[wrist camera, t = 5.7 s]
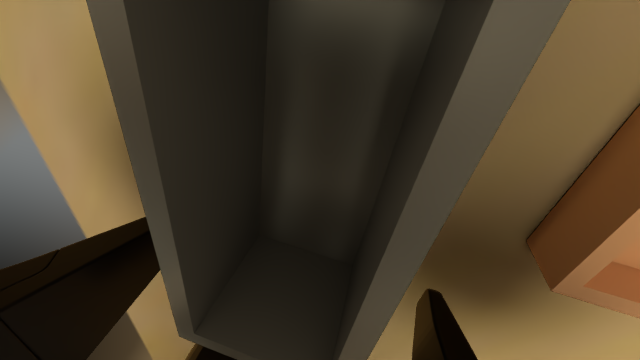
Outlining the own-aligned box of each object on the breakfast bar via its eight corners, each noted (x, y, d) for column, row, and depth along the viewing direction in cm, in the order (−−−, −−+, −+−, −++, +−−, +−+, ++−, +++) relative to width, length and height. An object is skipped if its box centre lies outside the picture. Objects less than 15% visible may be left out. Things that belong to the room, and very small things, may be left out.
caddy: (365, 268, 12) (343, 402, 8) (252, 231, 13) (179, 336, 9) (493, -58, 6) (690, -210, 2) (259, -93, 7) (14, -257, 2)
